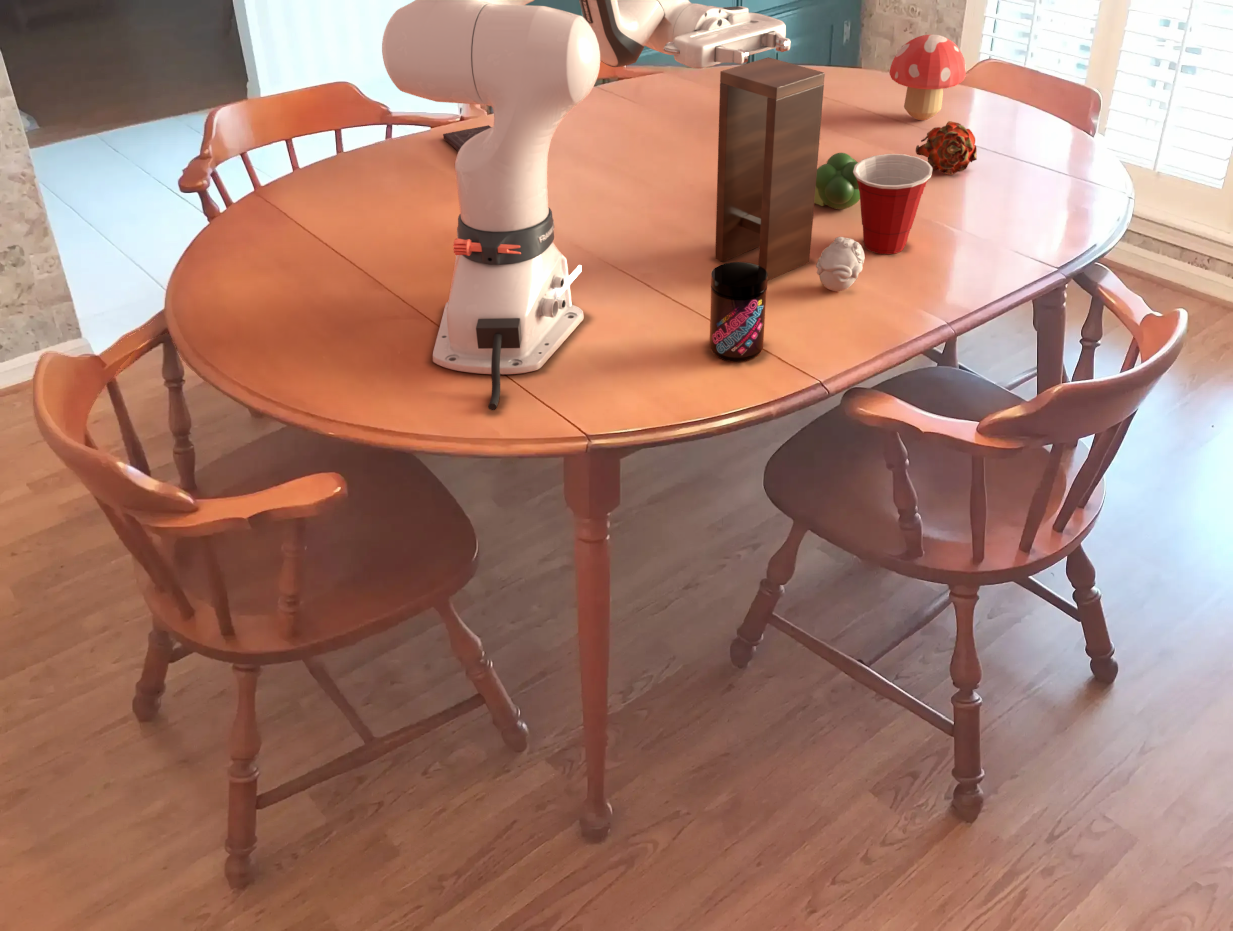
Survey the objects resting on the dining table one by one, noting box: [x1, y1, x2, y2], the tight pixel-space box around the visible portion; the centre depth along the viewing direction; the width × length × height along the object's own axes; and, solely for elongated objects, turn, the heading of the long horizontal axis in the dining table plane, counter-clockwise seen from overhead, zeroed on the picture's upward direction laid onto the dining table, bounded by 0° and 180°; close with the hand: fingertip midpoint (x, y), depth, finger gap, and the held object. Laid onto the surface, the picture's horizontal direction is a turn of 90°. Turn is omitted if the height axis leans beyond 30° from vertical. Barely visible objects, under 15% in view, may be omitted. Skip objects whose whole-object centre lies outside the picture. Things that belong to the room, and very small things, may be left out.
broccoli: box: [814, 152, 860, 210], centre depth 171 cm, size 17×9×8 cm, turn 40°
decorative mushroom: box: [888, 34, 967, 121], centre depth 199 cm, size 13×13×15 cm
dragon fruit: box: [915, 120, 978, 176], centre depth 181 cm, size 8×8×12 cm
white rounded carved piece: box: [815, 236, 866, 292], centre depth 147 cm, size 6×7×7 cm
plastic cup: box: [853, 153, 933, 255], centre depth 156 cm, size 11×11×12 cm
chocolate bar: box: [443, 124, 492, 153], centre depth 196 cm, size 9×1×18 cm
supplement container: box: [709, 261, 768, 363], centre depth 133 cm, size 7×7×10 cm
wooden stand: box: [714, 56, 826, 282], centre depth 149 cm, size 10×9×26 cm
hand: (766, 52), depth 170 cm, fingers open, 8 cm apart
